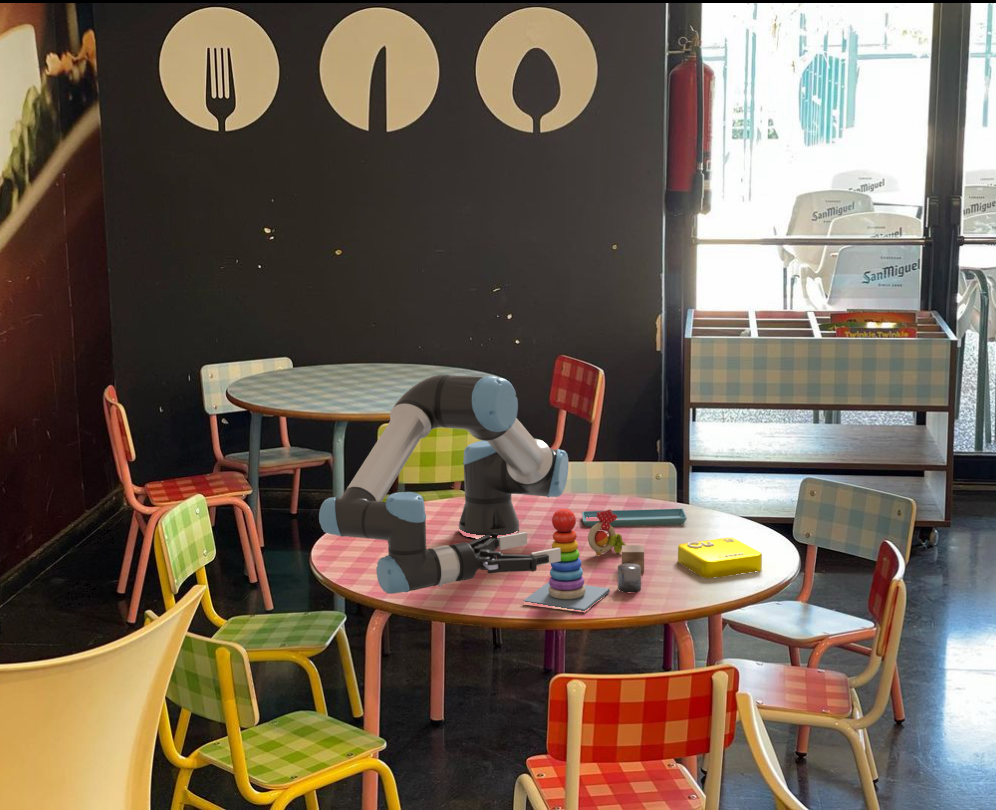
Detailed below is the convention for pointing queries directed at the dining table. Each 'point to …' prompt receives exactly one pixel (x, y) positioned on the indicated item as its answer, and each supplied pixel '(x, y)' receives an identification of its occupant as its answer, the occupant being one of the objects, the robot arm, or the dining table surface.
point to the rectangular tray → (641, 517)
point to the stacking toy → (566, 559)
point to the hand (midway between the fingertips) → (542, 546)
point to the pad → (577, 604)
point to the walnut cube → (633, 555)
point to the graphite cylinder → (629, 577)
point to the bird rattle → (600, 537)
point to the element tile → (719, 557)
